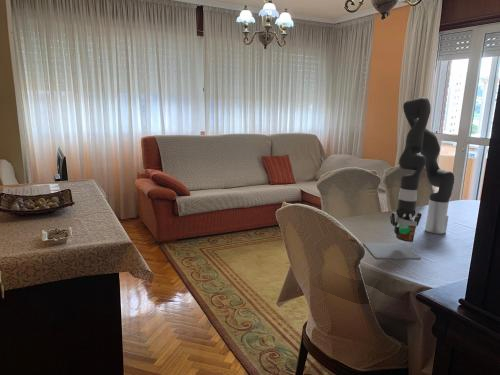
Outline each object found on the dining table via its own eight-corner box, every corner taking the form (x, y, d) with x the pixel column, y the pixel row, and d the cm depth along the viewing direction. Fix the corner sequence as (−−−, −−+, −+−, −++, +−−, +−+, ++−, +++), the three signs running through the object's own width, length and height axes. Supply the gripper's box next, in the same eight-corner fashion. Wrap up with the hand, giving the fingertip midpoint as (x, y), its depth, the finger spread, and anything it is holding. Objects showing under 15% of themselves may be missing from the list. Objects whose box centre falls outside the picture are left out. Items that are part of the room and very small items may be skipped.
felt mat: (404, 244, 178) (404, 243, 178) (420, 259, 162) (421, 257, 162) (363, 243, 178) (363, 242, 178) (375, 258, 161) (375, 257, 161)
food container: (388, 233, 174) (391, 213, 172) (401, 233, 175) (404, 213, 173) (401, 243, 162) (403, 221, 160) (414, 243, 163) (417, 221, 161)
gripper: (419, 196, 168) (414, 231, 172) (388, 195, 168) (384, 231, 172) (427, 200, 161) (422, 237, 165) (395, 200, 161) (390, 237, 164)
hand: (402, 234), depth 168 cm, fingers closed on food container, 5 cm apart
